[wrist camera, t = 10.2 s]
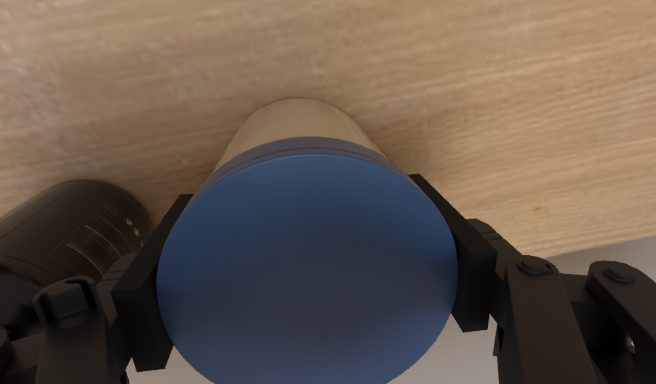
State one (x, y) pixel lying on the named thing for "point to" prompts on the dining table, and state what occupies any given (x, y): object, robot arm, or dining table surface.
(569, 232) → the dining table surface
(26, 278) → the supplement bottle
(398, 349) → the jar lid
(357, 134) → the jar
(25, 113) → the dining table surface
